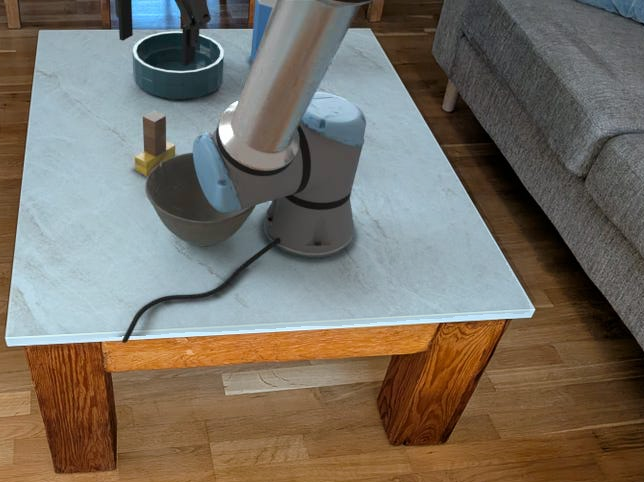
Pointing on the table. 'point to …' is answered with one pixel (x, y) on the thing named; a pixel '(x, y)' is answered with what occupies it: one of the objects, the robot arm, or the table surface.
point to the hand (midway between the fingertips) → (156, 50)
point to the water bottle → (260, 22)
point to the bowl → (189, 204)
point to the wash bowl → (177, 66)
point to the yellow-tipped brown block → (153, 143)
